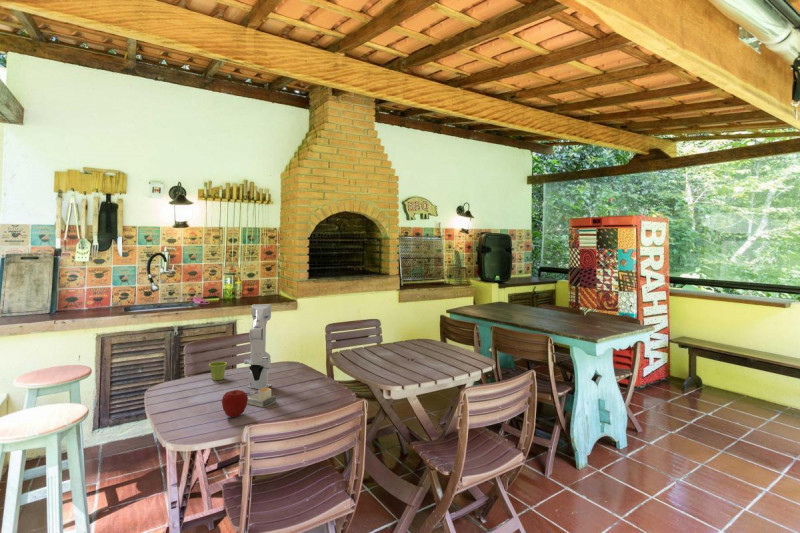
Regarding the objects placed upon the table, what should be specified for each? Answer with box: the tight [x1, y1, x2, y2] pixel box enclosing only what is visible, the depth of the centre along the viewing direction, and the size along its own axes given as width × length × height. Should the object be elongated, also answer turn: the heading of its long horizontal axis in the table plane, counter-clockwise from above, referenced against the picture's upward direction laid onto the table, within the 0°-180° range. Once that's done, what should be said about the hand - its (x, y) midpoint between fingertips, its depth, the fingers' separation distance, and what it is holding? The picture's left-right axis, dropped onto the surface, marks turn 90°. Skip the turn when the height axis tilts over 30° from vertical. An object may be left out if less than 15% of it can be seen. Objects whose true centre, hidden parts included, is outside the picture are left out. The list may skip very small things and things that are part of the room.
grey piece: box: [247, 392, 277, 409], centre depth 201 cm, size 15×8×3 cm, turn 66°
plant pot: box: [208, 361, 228, 381], centre depth 236 cm, size 9×9×9 cm
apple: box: [221, 389, 249, 418], centre depth 184 cm, size 11×11×12 cm
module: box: [257, 387, 272, 401], centre depth 199 cm, size 4×4×6 cm
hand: (256, 380), depth 203 cm, fingers closed
